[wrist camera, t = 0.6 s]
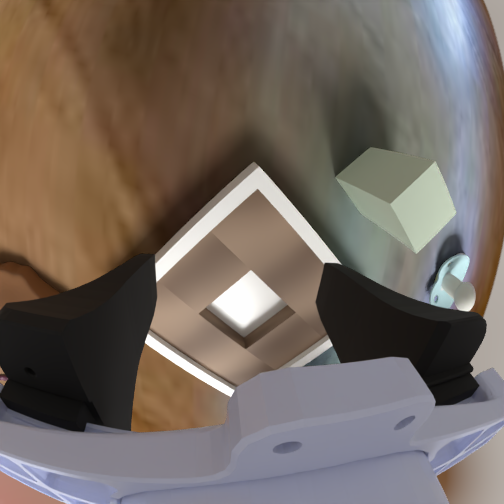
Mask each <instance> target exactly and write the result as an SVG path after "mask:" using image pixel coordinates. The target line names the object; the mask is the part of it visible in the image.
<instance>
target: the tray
mask: <svg viewBox="0 0 504 504" xmlns="http://www.w3.org/2000/svg"><path fill="white" fill-rule="evenodd" d="M257 189H259V190H260V192H261V193H262V194H263V195H264V196H265V197H266V198H267V199H268V200H269V202H270V203H271V204H272V205H273V206H274V207H275V208H276V209H277V210H278V212H279V213H280V214H281V215H282V216H283V217H284V218H285V219H286V221H287V222H288V223H289V224H290V225H291V226H292V227H293V229H294V230H295V231H296V232H297V233H298V234H299V235H300V237H301V238H302V239H303V240H304V241H305V242H306V244H307V245H308V246H309V247H310V248H311V249H312V251H313V252H314V253H315V254H316V255H317V256H318V258H319V259H320V260H321V261H322V262H323V264H325V263H339V264H341V263H340V262H339V261H338V259H337V258H336V257H335V255H334V254H333V253H332V252H331V250H330V249H329V248H328V247H327V245H326V244H325V243H324V242H323V240H322V239H321V238H320V237H319V235H318V234H317V233H316V232H315V231H314V229H313V228H312V227H311V226H310V225H309V223H308V222H307V221H306V220H305V219H304V217H303V216H302V215H301V214H300V213H299V211H298V210H297V209H296V208H295V207H294V205H293V204H292V203H291V202H290V201H289V200H288V198H287V197H286V196H285V195H284V194H283V193H282V191H281V190H280V189H279V188H278V187H277V186H276V185H275V183H274V182H273V181H272V180H271V179H270V178H269V177H268V176H267V174H266V173H265V172H264V171H263V170H262V169H261V168H260V167H259V166H258V165H257V164H256V163H255V162H253V163H251V164H250V165H249V166H248V167H247V168H246V169H245V170H243V171H242V172H241V173H240V174H239V175H238V176H237V177H236V178H234V179H233V180H232V181H231V182H230V183H229V184H228V185H227V186H226V187H225V188H223V189H222V190H221V191H220V192H219V193H218V194H217V195H216V196H215V197H214V198H213V199H212V200H210V201H209V202H208V203H207V204H206V205H205V206H204V207H203V208H202V209H201V210H200V211H199V212H198V213H197V214H196V215H195V216H194V217H193V218H191V219H190V220H189V221H188V222H187V223H186V224H185V225H184V226H183V227H182V228H181V229H180V230H179V231H178V232H177V233H176V234H175V235H174V236H173V237H172V238H171V239H170V240H169V241H168V242H167V243H166V244H165V245H164V246H163V247H162V248H161V249H160V250H159V251H158V252H157V253H156V254H155V267H156V282H157V281H158V280H159V279H161V278H162V277H163V276H164V275H165V274H166V273H167V272H168V271H169V270H170V269H171V268H172V267H173V266H174V265H175V264H176V263H177V262H178V261H179V260H180V259H181V258H182V257H183V256H184V255H185V254H187V253H188V252H189V251H190V250H191V249H192V248H193V247H194V246H195V245H196V244H197V243H198V242H199V241H200V240H201V239H203V238H204V237H205V236H206V235H207V234H208V233H209V232H210V231H211V230H212V229H213V228H214V227H216V226H217V225H218V224H219V223H220V222H221V221H222V220H223V219H224V218H225V217H226V216H228V215H229V214H230V213H231V212H232V211H233V210H234V209H235V208H236V207H238V206H239V205H240V204H241V203H242V202H243V201H244V200H245V199H247V198H248V197H249V196H250V195H251V194H252V193H253V192H254V191H256V190H257ZM285 306H287V304H286V303H285V302H284V301H283V300H282V299H281V298H280V297H279V296H278V295H277V294H276V293H275V292H274V291H272V290H271V289H270V288H269V287H268V286H267V285H266V284H265V283H264V282H263V281H262V280H261V279H260V278H259V277H258V276H257V275H256V274H255V273H254V272H252V271H251V270H250V271H249V272H248V273H247V274H246V275H244V276H243V277H242V278H241V279H240V280H238V281H237V282H236V283H235V284H234V285H232V286H231V287H230V288H229V289H228V290H226V291H225V292H224V293H223V294H222V295H220V296H219V297H218V298H217V299H216V300H214V301H213V302H212V303H211V304H210V305H208V306H207V307H206V308H207V309H208V310H209V311H211V312H212V313H213V314H214V315H216V316H217V317H218V318H219V319H221V320H222V321H223V322H224V323H226V324H227V325H228V326H230V327H231V328H232V329H233V330H235V331H236V332H237V333H239V334H240V335H241V336H243V337H245V336H247V335H248V334H249V333H251V332H252V331H254V330H255V329H256V328H258V327H259V326H260V325H262V324H263V323H264V322H266V321H267V320H268V319H270V318H271V317H272V316H274V315H275V314H276V313H278V312H279V311H280V310H281V309H283V308H284V307H285ZM145 343H146V344H147V345H149V346H150V347H152V348H153V349H154V350H156V351H157V352H159V353H160V354H162V355H163V356H165V357H166V358H168V359H169V360H171V361H172V362H174V363H175V364H177V365H178V366H180V367H181V368H183V369H185V370H186V371H188V372H189V373H191V374H193V375H194V376H196V377H197V378H199V379H201V380H202V381H204V382H206V383H207V384H209V385H211V386H213V387H214V388H216V389H218V390H220V391H221V392H223V393H225V394H227V395H228V396H230V397H231V396H232V394H233V392H234V391H235V389H236V387H235V386H233V385H232V384H230V383H228V382H227V381H225V380H223V379H222V378H220V377H218V376H217V375H215V374H214V373H212V372H210V371H209V370H207V369H206V368H204V367H203V366H201V365H199V364H198V363H196V362H195V361H193V360H192V359H190V358H189V357H187V356H186V355H184V354H183V353H181V352H180V351H178V350H177V349H176V348H174V347H173V346H171V345H170V344H168V343H167V342H166V341H164V340H163V339H161V338H160V337H159V336H157V335H156V334H155V333H153V332H152V331H151V330H149V332H148V335H147V338H146V341H145ZM332 346H333V345H332V343H331V341H330V339H329V337H328V335H326V336H325V337H323V338H322V339H321V340H319V341H318V342H317V343H315V344H314V345H312V346H311V347H310V348H308V349H307V350H305V351H304V352H302V353H301V354H300V355H298V356H297V357H295V358H294V359H292V360H291V361H289V362H288V363H286V364H285V365H283V366H282V367H280V368H279V369H282V368H287V367H303V366H304V365H306V364H307V363H309V362H310V361H312V360H313V359H315V358H316V357H317V356H319V355H320V354H322V353H323V352H325V351H326V350H327V349H329V348H330V347H332ZM277 370H278V369H277Z"/></svg>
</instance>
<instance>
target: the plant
mask: <svg viewBox="0 0 504 504" xmlns="http://www.w3.org/2000/svg"><path fill="white" fill-rule="evenodd" d="M56 294H60V292H58V291H57V290H55V289H54V288H53V287H51V286H50V285H49V284H47V283H46V282H45V281H43V280H42V279H41V278H40V277H39V276H38V275H37V274H36V273H35V271H34V270H33V269H32V268H31V267H29V266H24V265H20V264H18V263H15V262H6V263H0V310H1V309H2V307H3V306H4V305H5V304H6V303H10V302H20V301H28V300H34V299H40V298H44V297H49V296H53V295H56ZM0 380H4V381H6V380H8V378H7V377H6V375H5V374H0Z"/></svg>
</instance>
